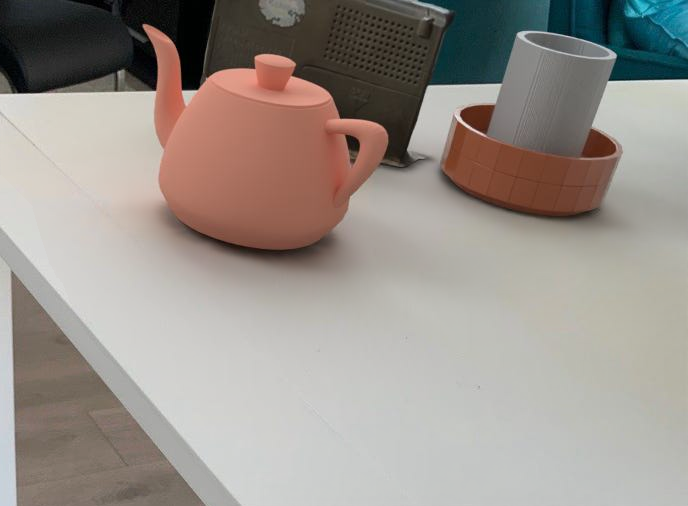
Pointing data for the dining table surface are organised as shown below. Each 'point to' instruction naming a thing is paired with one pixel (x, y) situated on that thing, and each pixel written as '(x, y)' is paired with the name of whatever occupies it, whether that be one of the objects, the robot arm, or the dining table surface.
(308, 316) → the dining table surface
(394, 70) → the radio
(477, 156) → the bowl
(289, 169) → the teapot
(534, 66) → the cup
